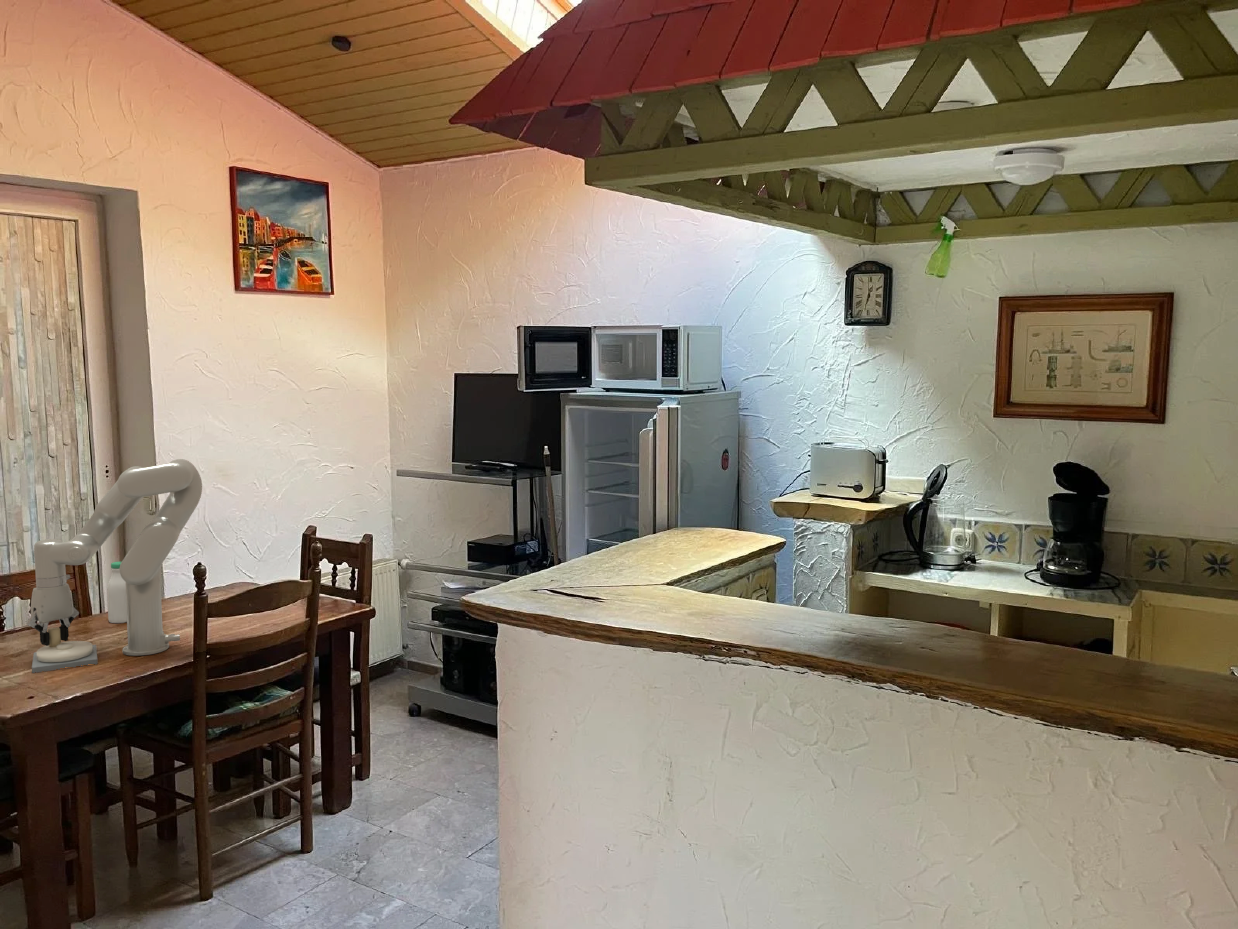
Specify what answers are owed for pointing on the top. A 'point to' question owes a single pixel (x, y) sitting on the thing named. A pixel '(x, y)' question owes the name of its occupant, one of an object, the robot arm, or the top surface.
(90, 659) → the base board
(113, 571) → the milk bottle
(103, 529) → the robot arm
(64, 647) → the dial
